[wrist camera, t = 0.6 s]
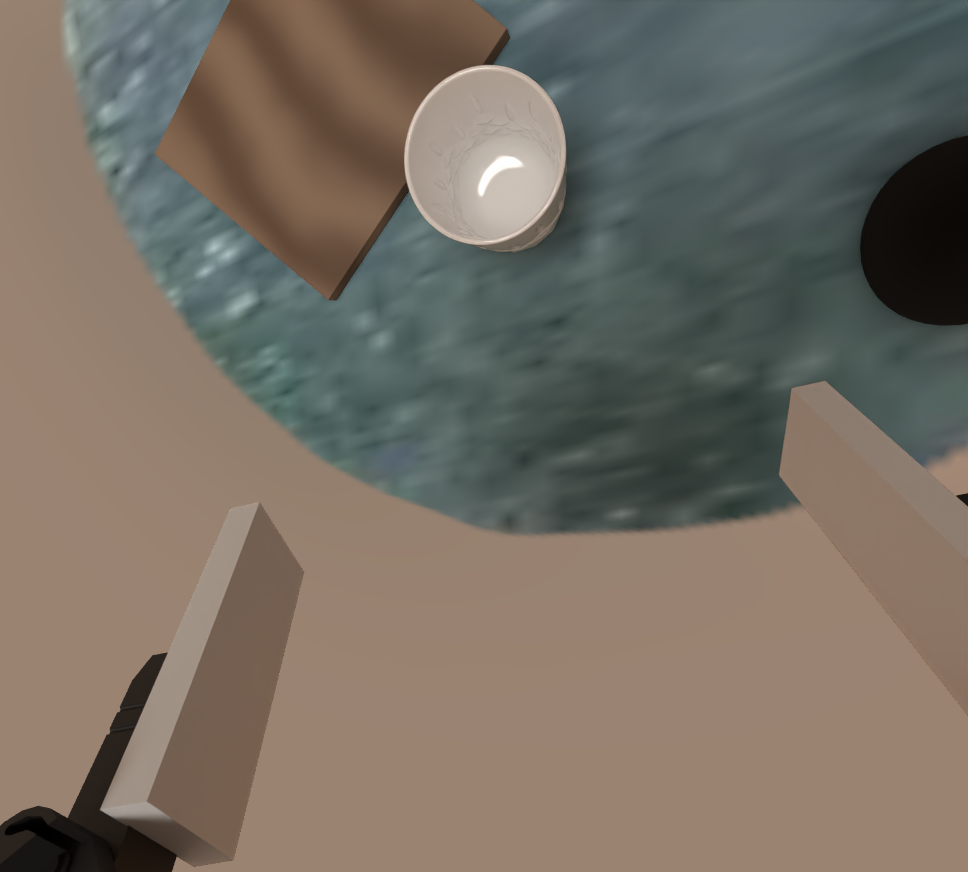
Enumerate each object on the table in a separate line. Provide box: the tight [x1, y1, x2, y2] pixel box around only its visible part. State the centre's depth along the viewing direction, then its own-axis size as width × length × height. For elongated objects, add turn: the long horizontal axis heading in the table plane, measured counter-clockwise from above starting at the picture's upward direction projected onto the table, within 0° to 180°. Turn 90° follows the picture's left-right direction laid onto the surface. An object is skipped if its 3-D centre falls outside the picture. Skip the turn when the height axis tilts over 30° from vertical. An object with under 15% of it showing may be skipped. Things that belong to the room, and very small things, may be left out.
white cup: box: [404, 65, 567, 253], centre depth 31 cm, size 8×8×10 cm
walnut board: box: [155, 0, 510, 300], centre depth 36 cm, size 20×16×1 cm
